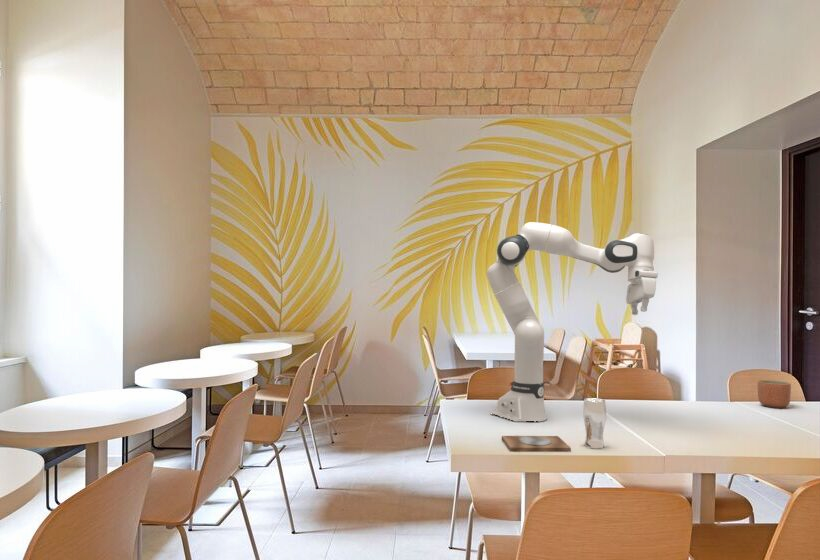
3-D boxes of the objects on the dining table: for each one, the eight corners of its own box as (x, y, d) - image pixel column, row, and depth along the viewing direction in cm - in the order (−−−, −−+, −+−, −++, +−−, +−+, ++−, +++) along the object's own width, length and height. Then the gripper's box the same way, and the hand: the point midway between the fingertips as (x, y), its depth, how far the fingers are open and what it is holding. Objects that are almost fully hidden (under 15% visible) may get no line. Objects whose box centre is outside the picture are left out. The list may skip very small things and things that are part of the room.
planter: (797, 410, 242) (797, 384, 242) (768, 409, 242) (768, 384, 242) (779, 404, 254) (779, 379, 254) (751, 403, 254) (751, 379, 254)
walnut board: (510, 451, 174) (510, 446, 174) (501, 439, 188) (501, 434, 188) (570, 451, 175) (570, 446, 175) (557, 439, 189) (557, 435, 189)
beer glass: (579, 443, 184) (580, 397, 185) (600, 443, 185) (600, 397, 185) (588, 449, 177) (588, 402, 178) (609, 449, 178) (609, 401, 178)
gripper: (622, 280, 220) (621, 315, 218) (641, 270, 200) (640, 308, 197) (639, 282, 220) (637, 317, 217) (659, 272, 200) (658, 310, 197)
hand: (639, 313), depth 207 cm, fingers open, 8 cm apart
